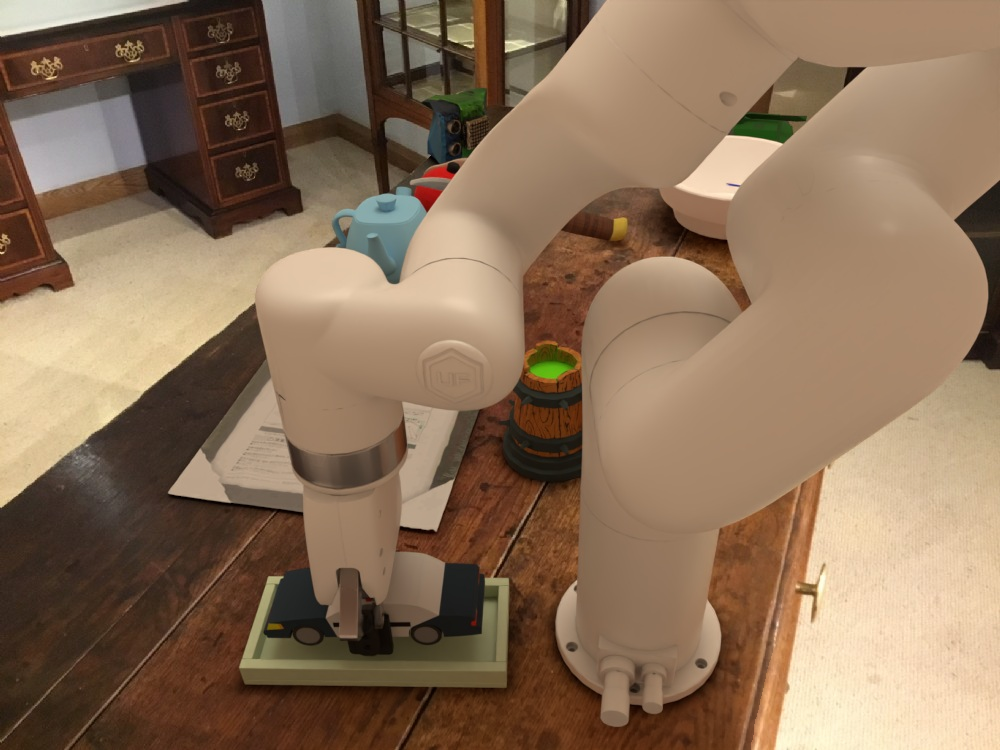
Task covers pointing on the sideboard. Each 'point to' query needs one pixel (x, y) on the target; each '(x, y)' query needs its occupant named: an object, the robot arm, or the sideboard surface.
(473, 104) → the sculpture
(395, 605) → the toy car
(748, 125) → the toy tank
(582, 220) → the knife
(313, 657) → the shallow tray
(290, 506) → the picture frame
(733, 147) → the bowl
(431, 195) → the ornament
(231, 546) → the sideboard surface
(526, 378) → the mug
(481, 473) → the sideboard surface
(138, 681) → the sideboard surface
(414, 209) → the teapot
